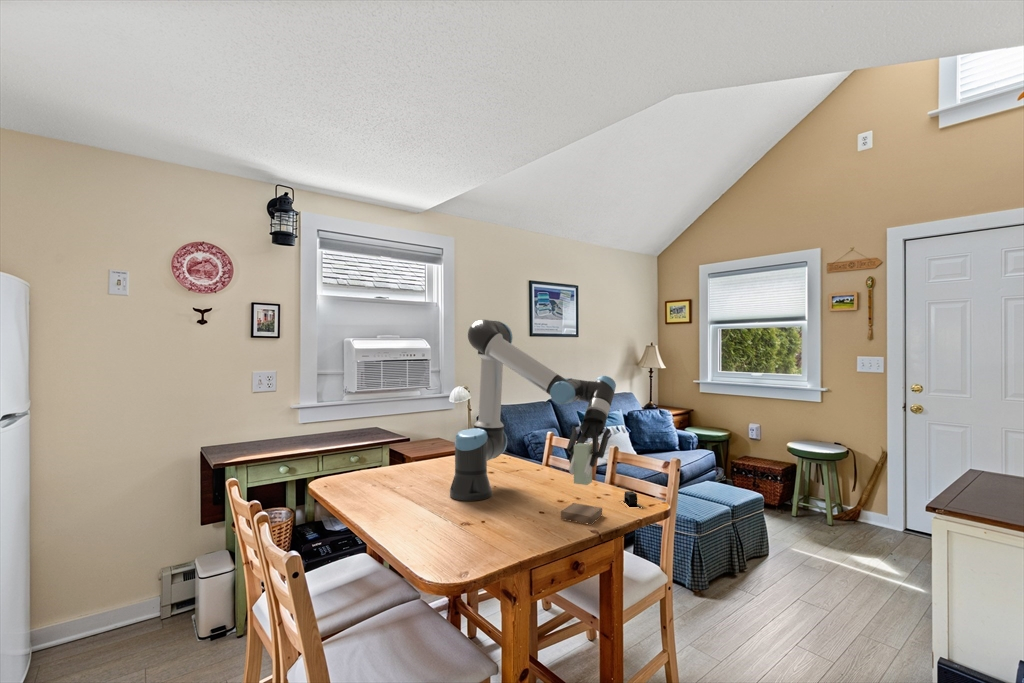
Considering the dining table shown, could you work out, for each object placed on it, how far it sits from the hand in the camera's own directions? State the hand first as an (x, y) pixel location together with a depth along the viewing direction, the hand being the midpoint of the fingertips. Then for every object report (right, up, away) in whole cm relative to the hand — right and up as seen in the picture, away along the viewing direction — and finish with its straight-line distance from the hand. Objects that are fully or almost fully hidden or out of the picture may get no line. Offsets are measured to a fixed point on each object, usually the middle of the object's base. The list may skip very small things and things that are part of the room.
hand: (578, 473), depth 153 cm
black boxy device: (+20, -16, +17) cm, 31 cm away
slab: (+1, -15, +3) cm, 16 cm away
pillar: (+2, -4, +3) cm, 5 cm away
